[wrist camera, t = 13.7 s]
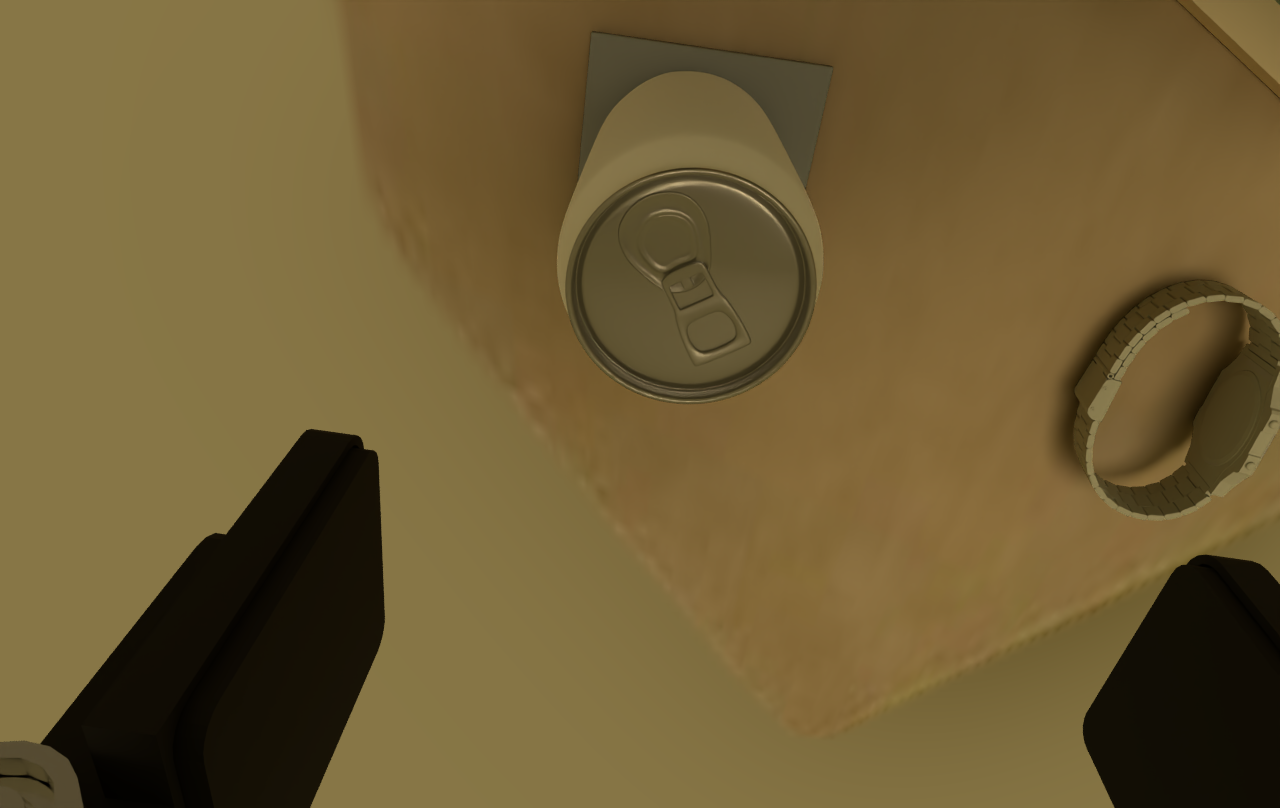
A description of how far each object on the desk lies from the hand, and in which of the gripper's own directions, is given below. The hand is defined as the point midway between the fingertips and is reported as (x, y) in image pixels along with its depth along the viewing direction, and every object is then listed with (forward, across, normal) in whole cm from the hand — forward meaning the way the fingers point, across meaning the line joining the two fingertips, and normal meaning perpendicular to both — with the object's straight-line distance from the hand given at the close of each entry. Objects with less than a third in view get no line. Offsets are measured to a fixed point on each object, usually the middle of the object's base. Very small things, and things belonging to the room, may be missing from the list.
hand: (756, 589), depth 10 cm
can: (+22, +1, +1) cm, 22 cm away
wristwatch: (+23, -18, +7) cm, 30 cm away
